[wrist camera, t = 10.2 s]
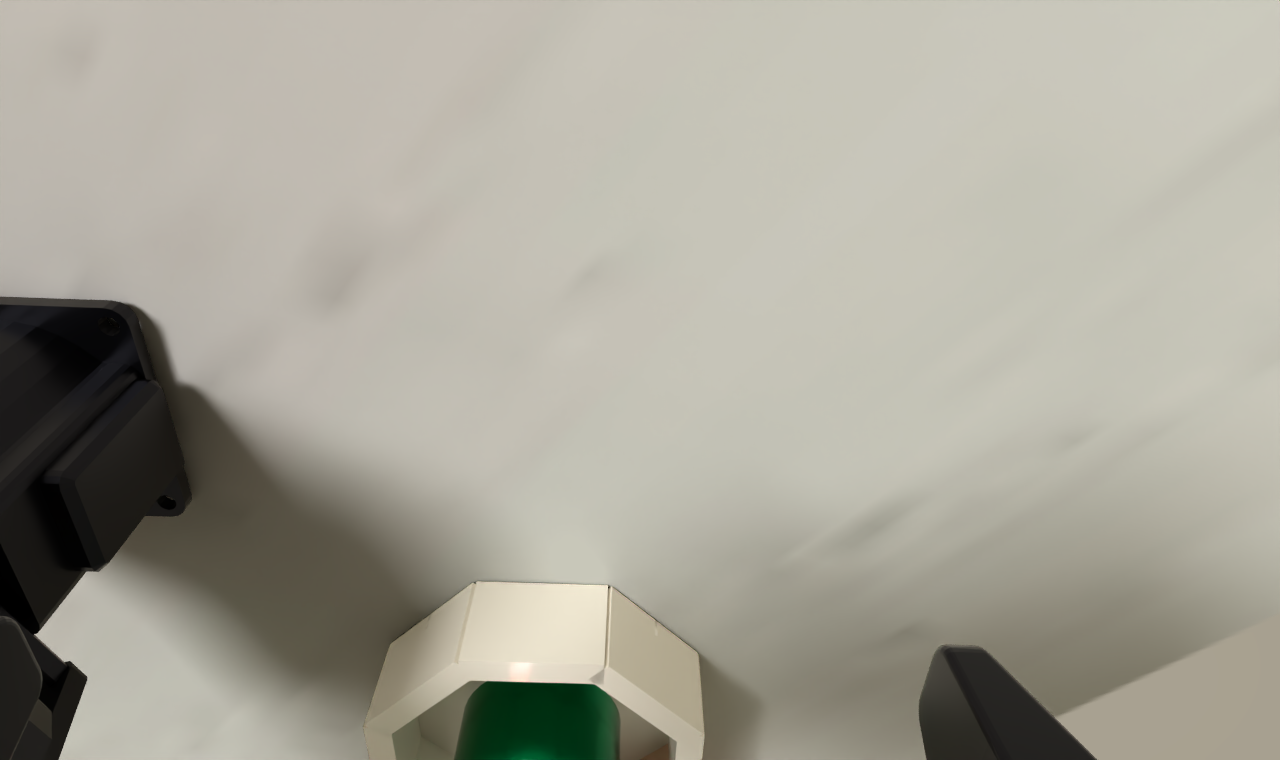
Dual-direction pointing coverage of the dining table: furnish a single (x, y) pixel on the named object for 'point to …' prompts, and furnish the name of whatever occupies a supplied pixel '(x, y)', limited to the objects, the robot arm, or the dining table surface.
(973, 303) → the dining table surface
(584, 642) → the bowl
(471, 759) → the soda can
